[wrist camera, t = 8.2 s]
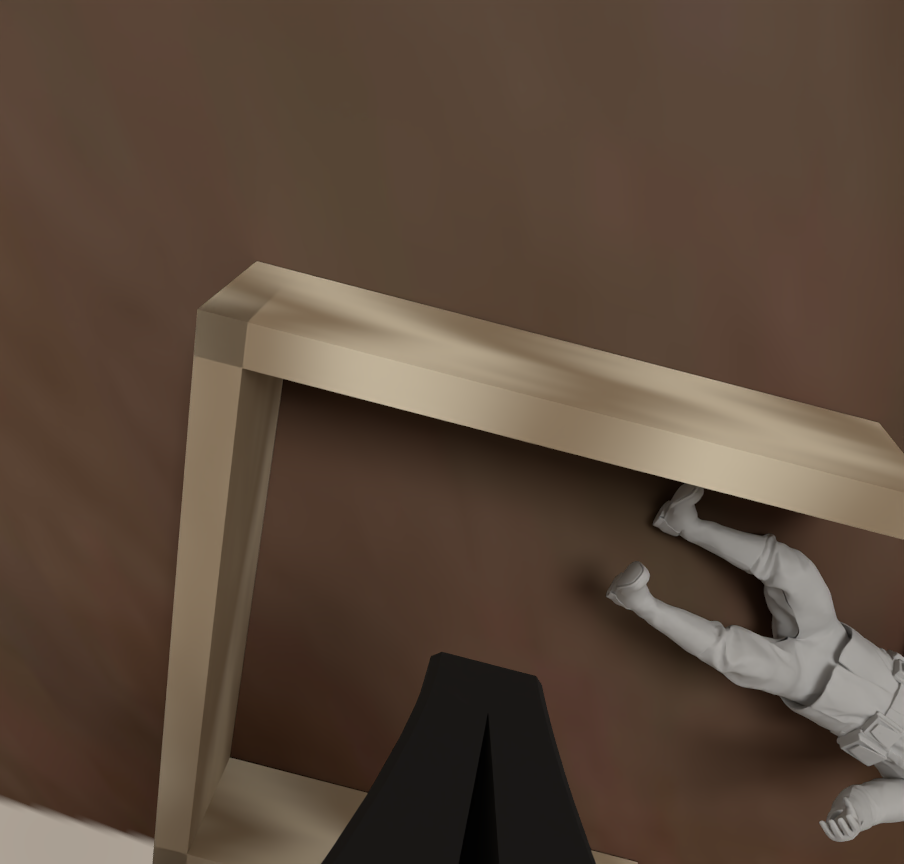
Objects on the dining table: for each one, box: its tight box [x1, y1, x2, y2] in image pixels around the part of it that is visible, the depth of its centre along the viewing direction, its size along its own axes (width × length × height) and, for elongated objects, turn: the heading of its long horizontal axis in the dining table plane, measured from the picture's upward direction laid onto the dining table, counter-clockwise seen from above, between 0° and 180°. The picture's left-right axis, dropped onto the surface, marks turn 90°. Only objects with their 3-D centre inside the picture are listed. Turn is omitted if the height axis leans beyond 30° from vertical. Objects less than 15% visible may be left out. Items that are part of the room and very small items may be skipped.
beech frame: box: [153, 262, 904, 864], centre depth 21 cm, size 15×18×4 cm
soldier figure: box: [606, 483, 904, 842], centre depth 20 cm, size 8×5×12 cm
